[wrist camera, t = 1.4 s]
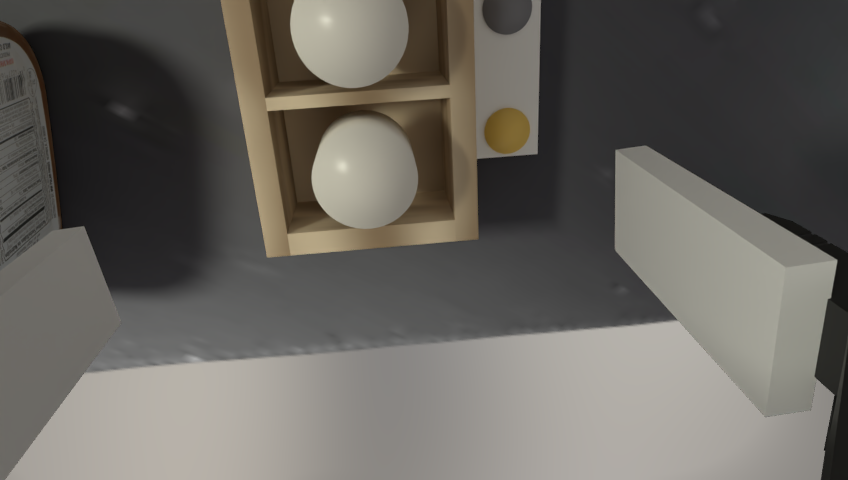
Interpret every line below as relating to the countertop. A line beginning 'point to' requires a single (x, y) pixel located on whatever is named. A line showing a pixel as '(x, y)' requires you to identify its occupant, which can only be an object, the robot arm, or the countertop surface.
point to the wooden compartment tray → (323, 103)
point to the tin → (24, 151)
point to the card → (507, 76)
